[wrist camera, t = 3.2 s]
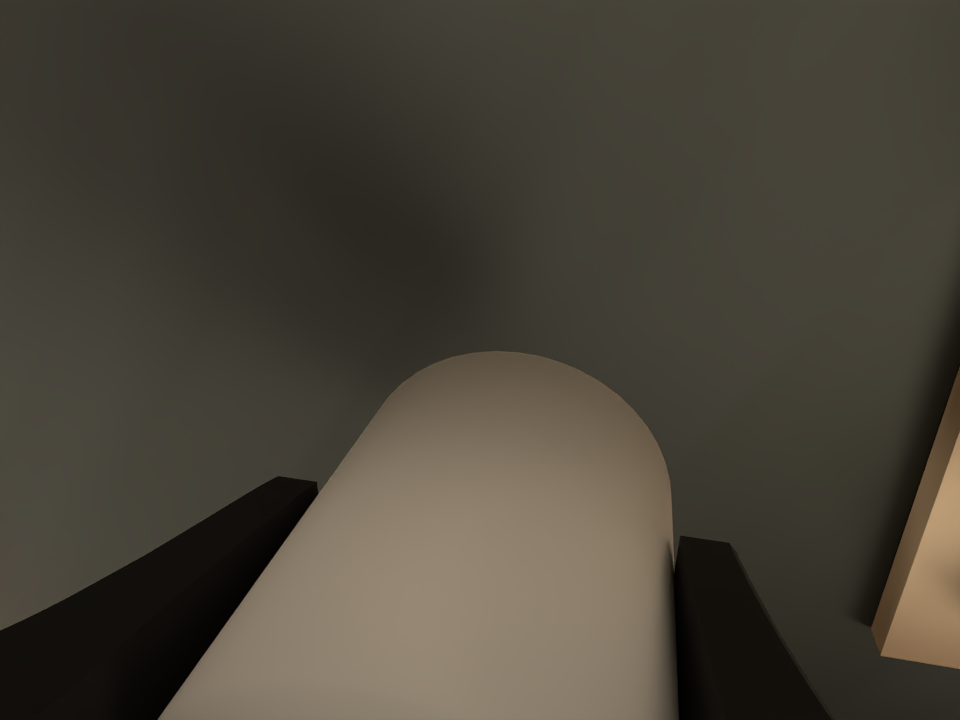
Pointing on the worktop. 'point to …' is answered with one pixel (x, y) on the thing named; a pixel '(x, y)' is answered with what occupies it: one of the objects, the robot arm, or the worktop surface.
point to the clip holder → (928, 561)
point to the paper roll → (467, 565)
